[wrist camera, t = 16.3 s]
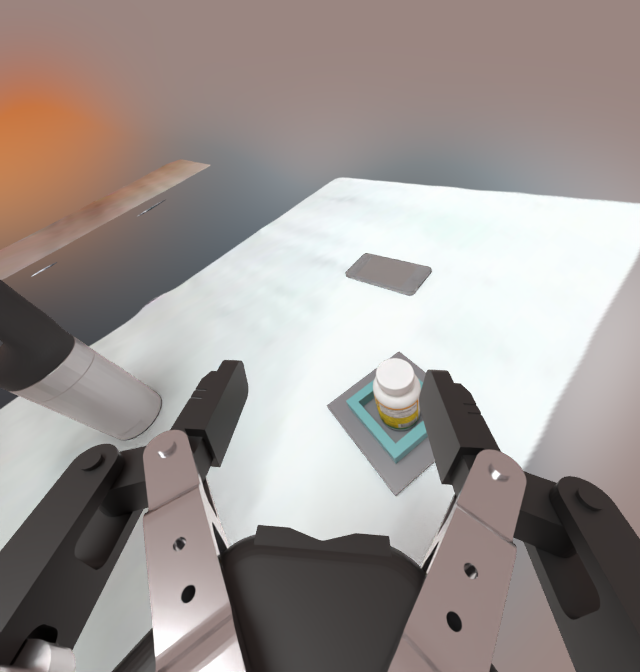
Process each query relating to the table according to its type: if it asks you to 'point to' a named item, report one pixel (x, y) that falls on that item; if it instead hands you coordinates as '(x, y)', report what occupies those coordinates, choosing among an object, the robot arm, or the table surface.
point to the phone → (389, 273)
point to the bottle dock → (384, 433)
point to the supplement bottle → (397, 394)
